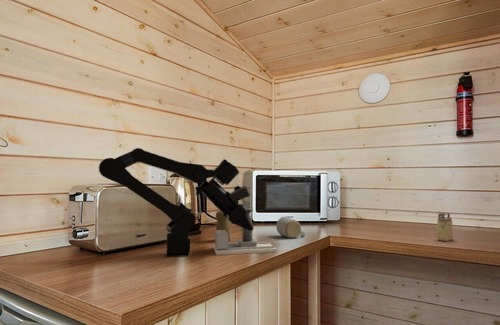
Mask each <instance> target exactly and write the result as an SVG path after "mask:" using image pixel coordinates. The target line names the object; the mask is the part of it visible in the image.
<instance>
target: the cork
mask: <svg viewBox="0 0 500 325" xmlns="http://www.w3.org/2000/svg"><path fill="white" fill-rule="evenodd" d="M215 219H216V228H215V230H225V231H226V232H227V233H228V243H231V241H232V238H231V232H230V224H229V223H230V221H229V220H228V219H227V218H226V217H225V216H224V215H223V214H222V212H221V211H220V210H219V211H217V212H216V213H215Z"/></svg>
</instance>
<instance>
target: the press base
mask: <svg viewBox="0 0 500 325" xmlns="http://www.w3.org/2000/svg"><path fill="white" fill-rule="evenodd" d="M256 242H257V247H240V246H239V245H238V242H228V233H227V232H226V231H225V230H216V229H215V230H214V244H213V245H212V246H213V247H212V248H213V250H214V254H215V255H216V256H220V255H240V254H241V255H242V254H263V253H265V254H266V253H277V252H278V251H277V250H278V248H276V247H275V245H272V244H271V243H270V242H269V241H256Z"/></svg>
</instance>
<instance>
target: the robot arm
mask: <svg viewBox="0 0 500 325" xmlns="http://www.w3.org/2000/svg"><path fill="white" fill-rule="evenodd" d="M137 163H141V164H143V165H147V166H150V167H153V168H157V169H158V170H159V169H160V170H163V171H166V172H169V173H173V174H175V175H176V176H179V177H181V178H182V179H184V180H186V181H187V182H190V183H193V184H200V186H199V185H198V186H195V187H194V190H195V194H194V195H195V196H200V194H203V195H204V196H205V197H206V199H207V200H209V201H210V203H211V204H213V206H215V207H216V208H217V209H218V210H219V211H221V212H222V214H223V215H224V216H225V217H226V218H227V219H228V222H229V223H231V224H233V225H235V226H237V227H241V228H242V229H243V228H245V229H247V230H250V231H252V232H253V230H254V226H253V224H252V225H251V224H250V222H249V221H248V219H247V218H246V216H245V213H246V210H247V208H248V207H246V206H245V205H244V204H242V203H240V200H243V199H245V198H248V197H251V193H250V191H249V189H248V186H247V185H244V186H239V185H237V186H236V185H235V186H234V187H233V191H232V192H229V191H226V189H224V188H223V187H222V186H224V185H225V186H228V185H229V184H230V183H231V182H232V181H233V180H234V179H235V178H236V177H237V176H238V175H239V174H240V171H239V168H237V167H236V166H235V165H234V164H232V163H231V162H230V161H228V160H227V159H225V158H224V159H221V161H220V162H219V164H218V165H217V166H216V167H215V168H214V169H213V168H212V169H207V168H206V166H204V165H203V164H196V163H188V162H182V161H178V160H174V159H171V158H168V157H165V156H162V155H159V154H156V153H153V152H150V151H147V150H144V149H143V148H140V147H136V148H134V149H133V150H131V151H128V152H127V153H124V154H122V155H119V156H117V157H116V158H114V157H108V158H107V157H106V158H104V159H103V160H101V161H100V163H99V165H98V171H99V173H100V176H102V177H103V178H105V179H107V180H110V181H111V182H114V183H117V184H119V185H121V186H123V187H125V188H127V189H128V190H130V191H131V192H132V193H134V194H136V195H137V196H139V197H140V198H142V199H144V200H145V201H146V202H148V203H149V204H151V205H152V206H153V207H155V208H156V209H158V210H160V211H161V212H162V213H163V214H165V215H166V217H167V218H169V219H170V221H169V222H168V224H166V226H165V227H166V230H167V232H168V233H166V253H165V254H166V255H165V256H166V257H168V258H169V257H187V256H189V253H190V252H191V237H190V236H189V233H190V230H191V229H192V228H193V227H194V226H195V225H196V224H195V223H196V216H195V214H194V212H193V209H192V208H189V207H187V206H186V205H185V204H184V203H183V202H181V201H177V202H176V204H175V203H174V202H171V201H169V200H168V199H166V198H165V197H164V196H162V195H161V194H159V193H158V192H156V190H154V189H152V188H151V187H149V186H148V185H146V184H145V183H143V182H142V181H140V180H139V179H137V177H135V176H133V175H132V174H131V173H130V172H129V170H128V169H127V168H129V167H131V166H133V165H135V164H137ZM207 179H210V180H208V181H207ZM201 183H202V184H201Z"/></svg>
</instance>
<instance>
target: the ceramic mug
mask: <svg viewBox="0 0 500 325" xmlns="http://www.w3.org/2000/svg"><path fill="white" fill-rule="evenodd" d="M275 228H276V230H277V233H278V234H279V235H280V236H282V237H286V238H288V239H296V238H297V237H299V236H302V237H305V236H306V232H305V231H303V230H302V226H301V223H300V222H299V221H298V220H296V219H293V218H291V217H289V216H281V217H280V218H279V219H278V220H277V221H276V227H275Z"/></svg>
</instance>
